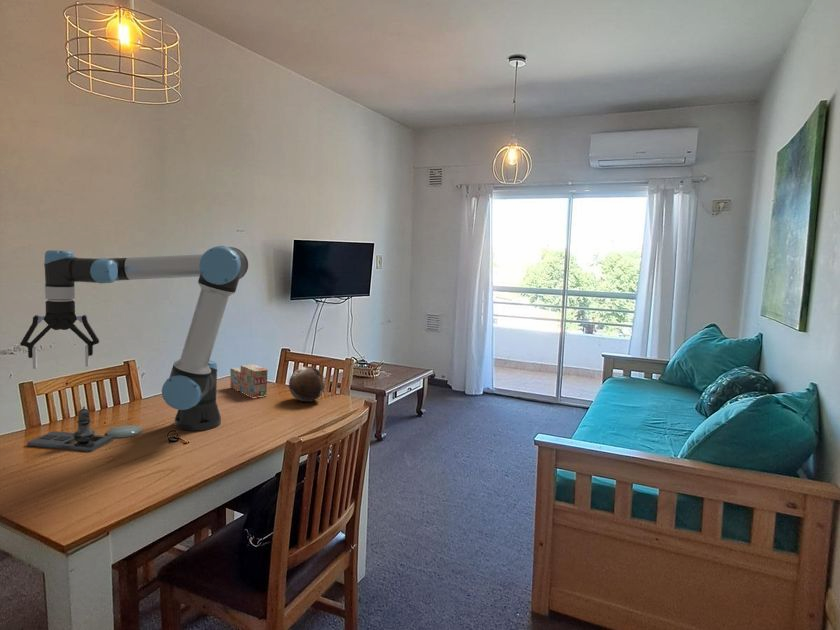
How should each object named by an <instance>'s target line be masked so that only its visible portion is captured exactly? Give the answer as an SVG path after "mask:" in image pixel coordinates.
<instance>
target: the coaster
mask: <svg viewBox="0 0 840 630" xmlns="http://www.w3.org/2000/svg"><path fill="white" fill-rule="evenodd" d="M142 432H143V431H142V427H141V426H138V425H133V424H132V425H120V426H119V425H118V426H115V427H112V428H109V429H108V430H107V431H106V436H112V437H113V439H124V438H132V437H135V436H137V435H140V434H141V433H142Z"/></svg>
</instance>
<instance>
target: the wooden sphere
mask: <svg viewBox="0 0 840 630" xmlns="http://www.w3.org/2000/svg"><path fill="white" fill-rule="evenodd" d="M325 387H326V380H325V377H324V375H323V373H322V372H321V371H320V370H319V369H317V368H315V367H314V366H301V367H299V368H298V369H296V370H295V371H294V372H293V373H292V374H291V375H290V378H289V382H288V388H289V392H290V393H291V395H292V396H293V397H294V399H296V400H297V401H300V400H301V401H300V402H303V401H310V402H312V401H311V400H314V401H315V399H316V400H317V399H319V398H320V397H321V396H322V394H323V393H324V391H325Z"/></svg>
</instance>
